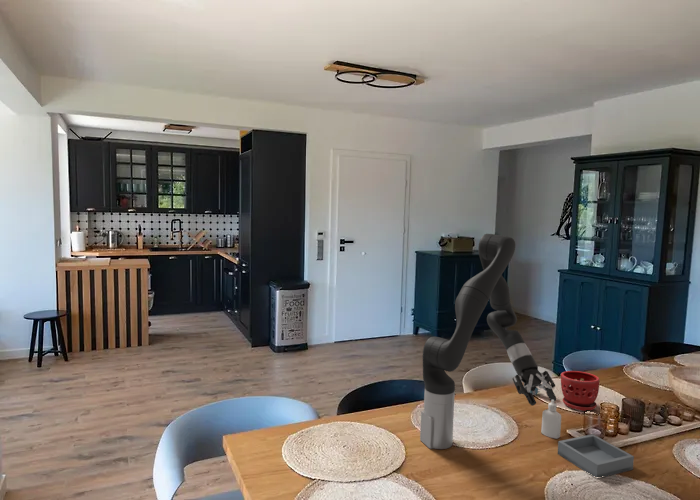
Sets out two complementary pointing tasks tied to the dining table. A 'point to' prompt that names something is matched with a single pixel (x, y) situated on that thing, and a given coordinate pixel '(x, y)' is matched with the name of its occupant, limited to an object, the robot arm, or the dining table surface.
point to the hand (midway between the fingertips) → (544, 403)
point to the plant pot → (579, 390)
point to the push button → (534, 390)
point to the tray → (595, 455)
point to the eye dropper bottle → (551, 421)
